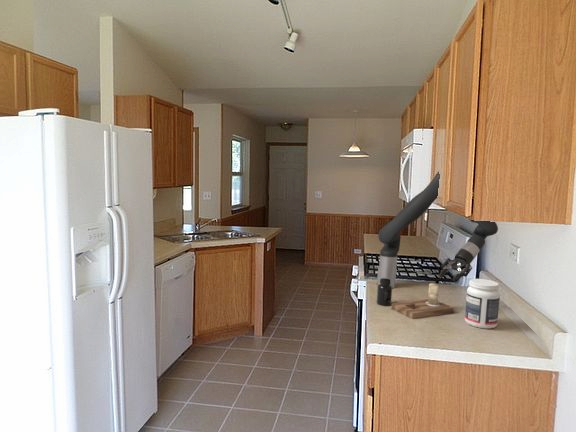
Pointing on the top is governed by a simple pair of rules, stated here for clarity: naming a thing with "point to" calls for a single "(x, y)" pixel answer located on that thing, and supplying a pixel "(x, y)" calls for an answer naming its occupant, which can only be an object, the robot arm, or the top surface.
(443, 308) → the walnut board
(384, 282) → the supplement bottle
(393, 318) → the top surface
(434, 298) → the birch peg
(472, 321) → the supplement tub
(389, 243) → the robot arm
